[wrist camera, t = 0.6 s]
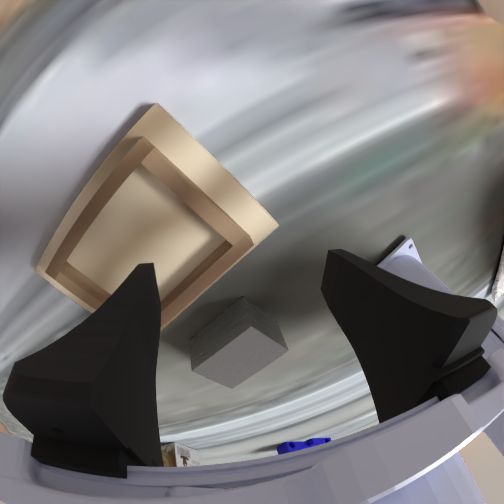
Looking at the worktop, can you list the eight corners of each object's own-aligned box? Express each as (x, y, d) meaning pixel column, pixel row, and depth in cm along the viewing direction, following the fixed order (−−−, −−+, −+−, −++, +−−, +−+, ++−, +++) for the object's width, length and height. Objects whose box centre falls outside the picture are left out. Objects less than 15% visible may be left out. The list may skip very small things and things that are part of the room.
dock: (274, 219, 21) (285, 234, 19) (145, 336, 24) (143, 358, 22) (157, 103, 15) (152, 102, 13) (39, 262, 18) (27, 280, 16)
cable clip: (329, 437, 49) (339, 458, 44) (315, 445, 50) (324, 466, 45) (290, 437, 44) (299, 463, 39) (276, 446, 45) (283, 471, 40)
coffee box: (164, 459, 41) (172, 530, 27) (139, 450, 37) (144, 527, 24) (199, 449, 40) (213, 527, 26) (174, 440, 36) (185, 527, 23)
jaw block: (276, 320, 27) (288, 350, 23) (225, 358, 28) (231, 388, 25) (241, 294, 24) (251, 326, 21) (189, 338, 26) (191, 370, 22)
